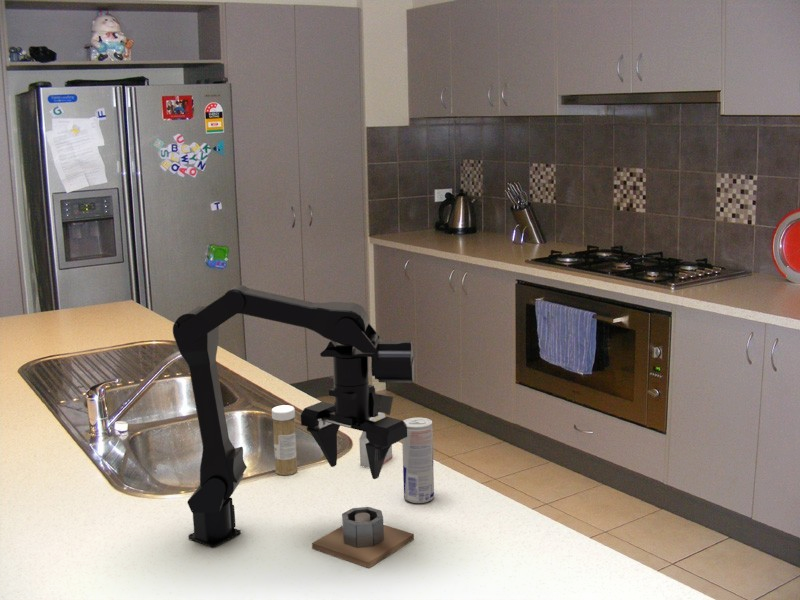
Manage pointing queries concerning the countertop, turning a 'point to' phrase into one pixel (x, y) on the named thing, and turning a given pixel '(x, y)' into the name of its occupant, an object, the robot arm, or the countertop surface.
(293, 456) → the sprinkles bottle
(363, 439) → the mini juice carton
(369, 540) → the ring
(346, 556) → the brown peg base
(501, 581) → the countertop surface
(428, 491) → the beverage can
